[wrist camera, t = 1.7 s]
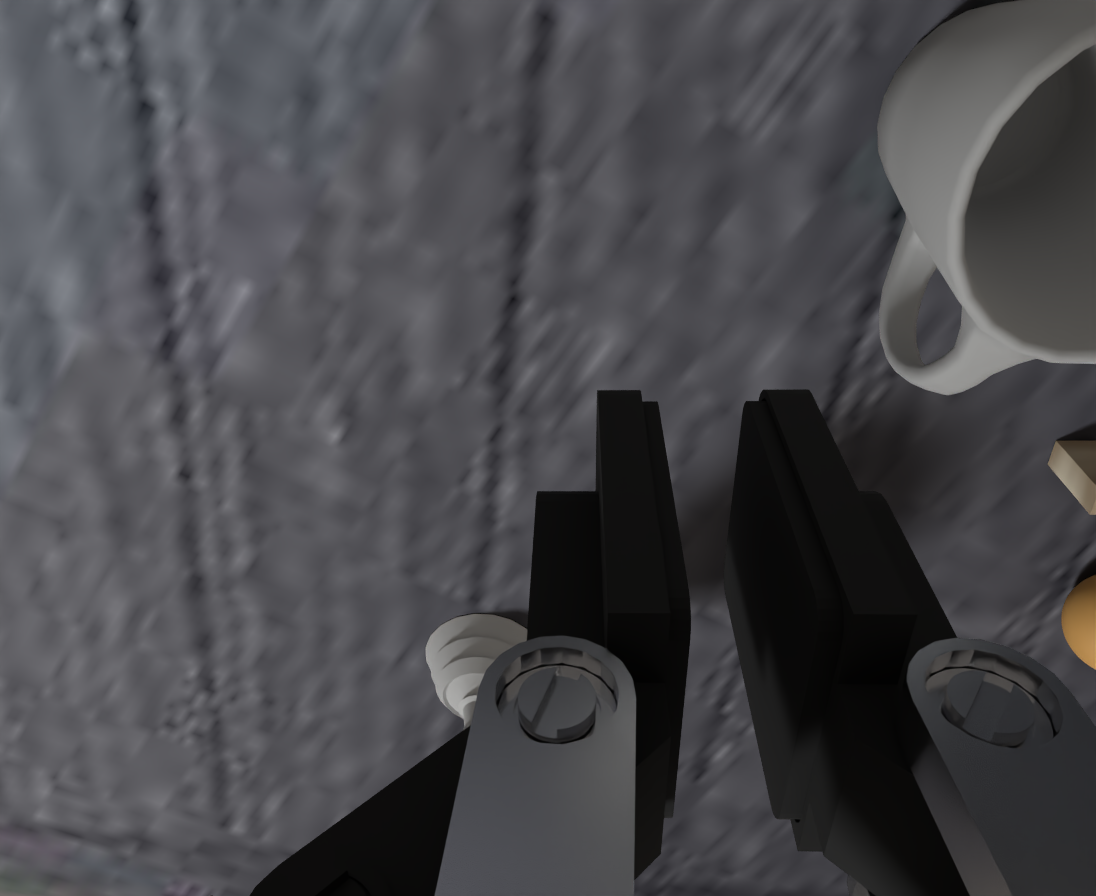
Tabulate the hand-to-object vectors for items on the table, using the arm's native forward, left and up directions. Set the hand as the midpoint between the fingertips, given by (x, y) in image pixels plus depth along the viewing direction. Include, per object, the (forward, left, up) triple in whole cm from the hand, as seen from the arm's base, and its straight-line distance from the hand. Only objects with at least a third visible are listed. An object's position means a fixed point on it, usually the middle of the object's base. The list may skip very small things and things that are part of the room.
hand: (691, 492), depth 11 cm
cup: (0, +10, -17) cm, 20 cm away
